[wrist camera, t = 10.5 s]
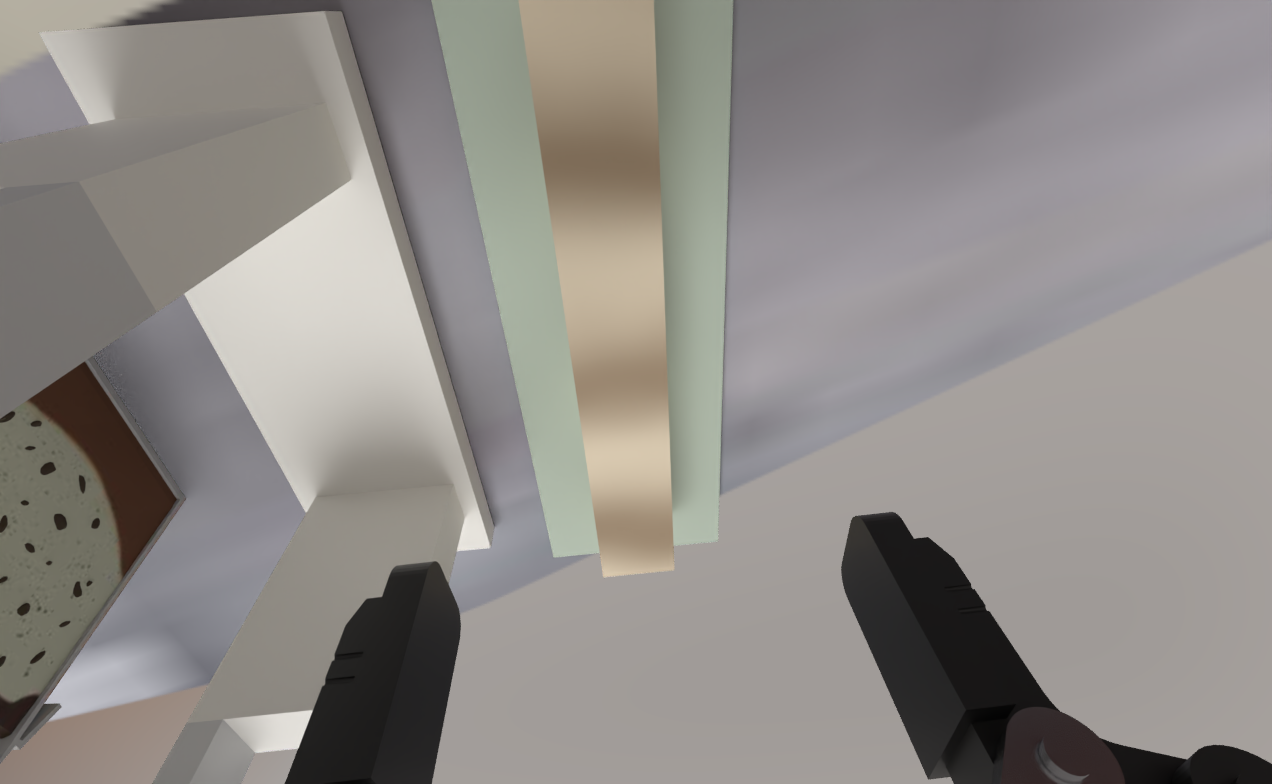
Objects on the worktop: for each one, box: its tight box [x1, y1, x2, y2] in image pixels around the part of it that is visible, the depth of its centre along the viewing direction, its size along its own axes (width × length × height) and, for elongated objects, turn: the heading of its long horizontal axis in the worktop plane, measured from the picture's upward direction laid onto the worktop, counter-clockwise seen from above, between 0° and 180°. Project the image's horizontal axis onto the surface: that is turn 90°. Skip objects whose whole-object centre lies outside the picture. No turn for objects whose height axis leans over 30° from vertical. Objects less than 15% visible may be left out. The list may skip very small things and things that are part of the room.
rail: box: [518, 0, 674, 577], centre depth 19 cm, size 20×3×3 cm, turn 4°
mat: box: [431, 0, 733, 557], centre depth 21 cm, size 24×8×1 cm, turn 4°
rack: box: [0, 11, 494, 784], centre depth 15 cm, size 20×7×13 cm, turn 4°
